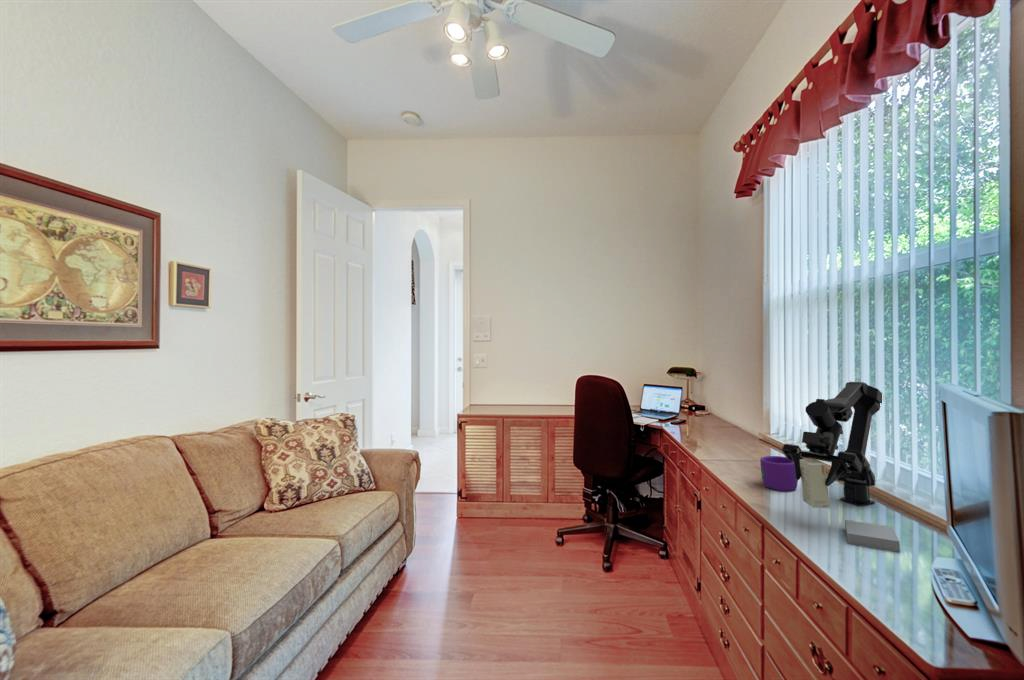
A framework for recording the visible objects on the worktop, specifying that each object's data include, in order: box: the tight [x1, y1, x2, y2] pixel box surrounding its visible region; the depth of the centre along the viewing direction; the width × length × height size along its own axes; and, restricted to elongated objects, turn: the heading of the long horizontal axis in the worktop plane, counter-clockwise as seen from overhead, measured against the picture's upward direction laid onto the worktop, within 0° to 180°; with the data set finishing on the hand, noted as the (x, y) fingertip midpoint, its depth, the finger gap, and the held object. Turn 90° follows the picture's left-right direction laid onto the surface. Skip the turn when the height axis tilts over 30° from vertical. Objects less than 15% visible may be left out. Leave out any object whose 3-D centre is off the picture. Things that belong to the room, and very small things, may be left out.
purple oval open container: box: [760, 455, 799, 492], centre depth 157 cm, size 17×11×10 cm, turn 152°
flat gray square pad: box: [844, 519, 901, 553], centre depth 112 cm, size 10×10×3 cm
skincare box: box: [800, 458, 830, 509], centre depth 122 cm, size 6×4×12 cm
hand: (811, 482), depth 122 cm, fingers closed on skincare box, 7 cm apart
